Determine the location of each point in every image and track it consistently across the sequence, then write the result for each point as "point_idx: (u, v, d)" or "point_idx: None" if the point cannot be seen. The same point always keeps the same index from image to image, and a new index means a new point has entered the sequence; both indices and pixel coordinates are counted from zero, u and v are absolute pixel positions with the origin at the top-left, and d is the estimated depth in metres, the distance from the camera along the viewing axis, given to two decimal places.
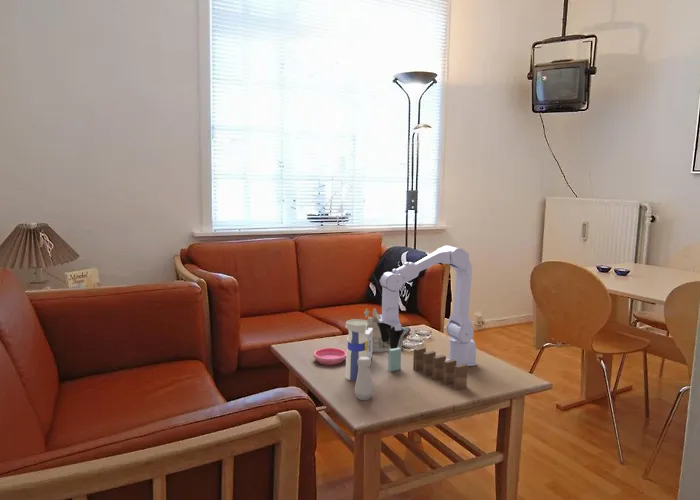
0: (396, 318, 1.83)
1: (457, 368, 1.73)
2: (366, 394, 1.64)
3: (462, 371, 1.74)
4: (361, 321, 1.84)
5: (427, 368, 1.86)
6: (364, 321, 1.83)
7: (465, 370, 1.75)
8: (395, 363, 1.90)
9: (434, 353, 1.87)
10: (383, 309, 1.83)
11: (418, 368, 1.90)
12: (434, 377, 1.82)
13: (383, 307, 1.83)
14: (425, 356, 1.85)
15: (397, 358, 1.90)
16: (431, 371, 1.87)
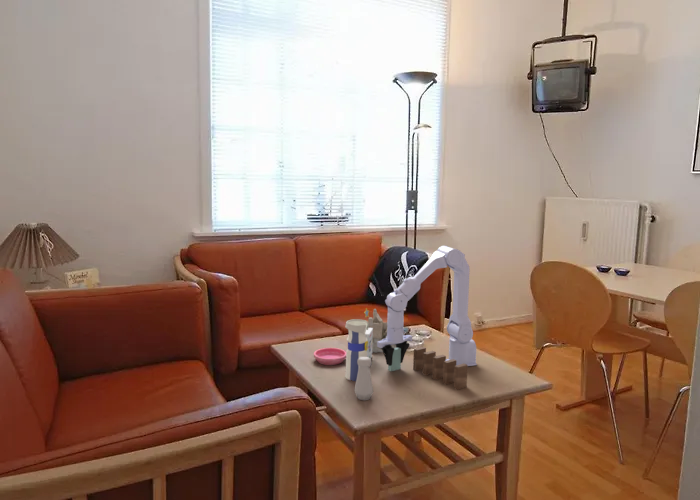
0: (391, 338, 1.86)
1: (457, 368, 1.73)
2: (366, 394, 1.64)
3: (462, 371, 1.74)
4: (361, 321, 1.84)
5: (427, 368, 1.86)
6: (364, 321, 1.83)
7: (465, 370, 1.75)
8: (395, 363, 1.90)
9: (434, 353, 1.87)
10: None
11: (418, 368, 1.90)
12: (434, 377, 1.82)
13: None
14: (425, 356, 1.85)
15: (397, 358, 1.90)
16: (431, 371, 1.87)
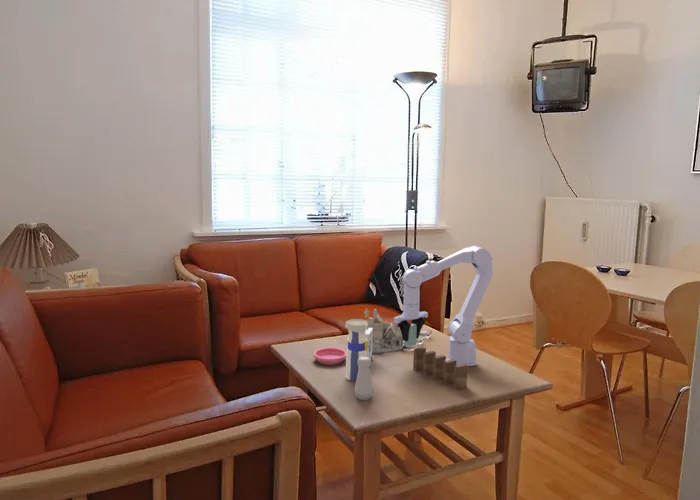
0: (408, 314, 1.90)
1: (457, 368, 1.73)
2: (366, 394, 1.64)
3: (462, 371, 1.74)
4: (361, 321, 1.84)
5: (427, 368, 1.86)
6: (364, 321, 1.83)
7: (465, 370, 1.75)
8: (411, 339, 1.93)
9: (434, 353, 1.87)
10: None
11: (418, 368, 1.90)
12: (434, 377, 1.82)
13: None
14: (425, 356, 1.85)
15: (413, 334, 1.94)
16: (431, 371, 1.87)
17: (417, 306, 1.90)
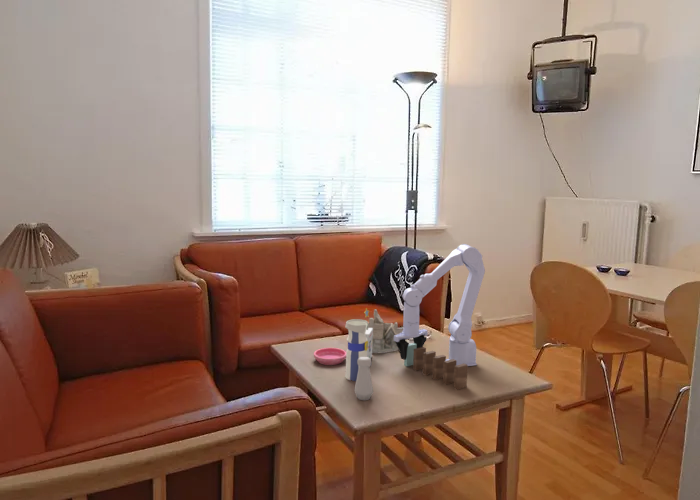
0: (407, 332, 1.91)
1: (457, 368, 1.73)
2: (366, 394, 1.64)
3: (462, 371, 1.74)
4: (361, 321, 1.84)
5: (427, 368, 1.86)
6: (364, 321, 1.83)
7: (465, 370, 1.75)
8: (411, 358, 1.95)
9: (434, 353, 1.87)
10: None
11: (418, 368, 1.90)
12: (434, 377, 1.82)
13: None
14: (425, 356, 1.85)
15: (413, 353, 1.95)
16: (431, 371, 1.87)
17: (417, 324, 1.91)
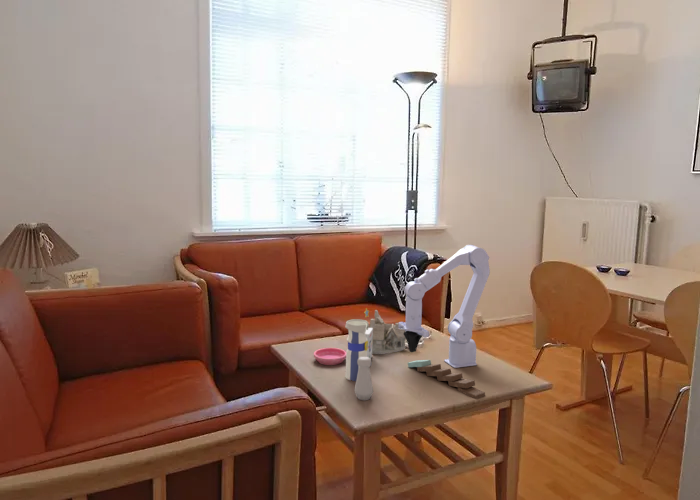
0: (420, 325, 1.91)
1: None
2: (366, 394, 1.64)
3: None
4: (361, 321, 1.84)
5: (433, 375, 1.84)
6: (364, 321, 1.83)
7: None
8: None
9: (449, 373, 1.81)
10: (408, 318, 1.90)
11: None
12: (438, 379, 1.80)
13: (408, 316, 1.90)
14: (439, 374, 1.80)
15: None
16: None
17: None
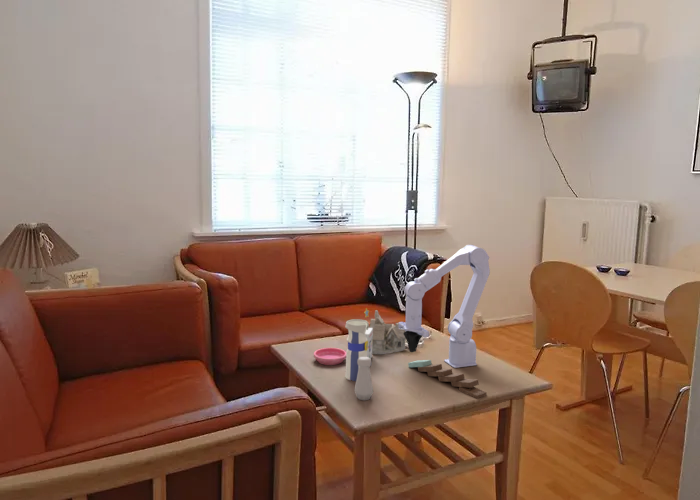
0: (420, 325, 1.91)
1: None
2: (366, 394, 1.64)
3: None
4: (361, 321, 1.84)
5: (434, 375, 1.83)
6: (364, 321, 1.83)
7: None
8: None
9: None
10: (408, 318, 1.90)
11: None
12: (440, 379, 1.80)
13: (408, 316, 1.90)
14: (440, 375, 1.80)
15: None
16: None
17: None
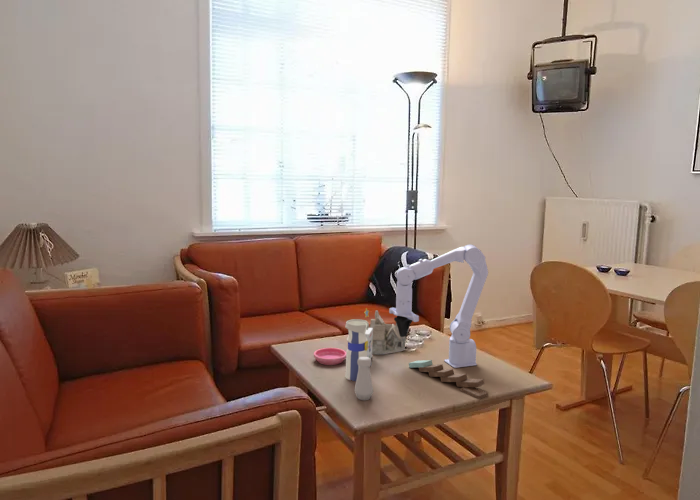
0: (411, 310, 1.94)
1: None
2: (366, 394, 1.64)
3: None
4: (361, 321, 1.84)
5: None
6: (364, 321, 1.83)
7: None
8: None
9: None
10: (399, 303, 1.93)
11: None
12: (442, 380, 1.79)
13: (399, 301, 1.93)
14: (442, 375, 1.79)
15: None
16: None
17: None
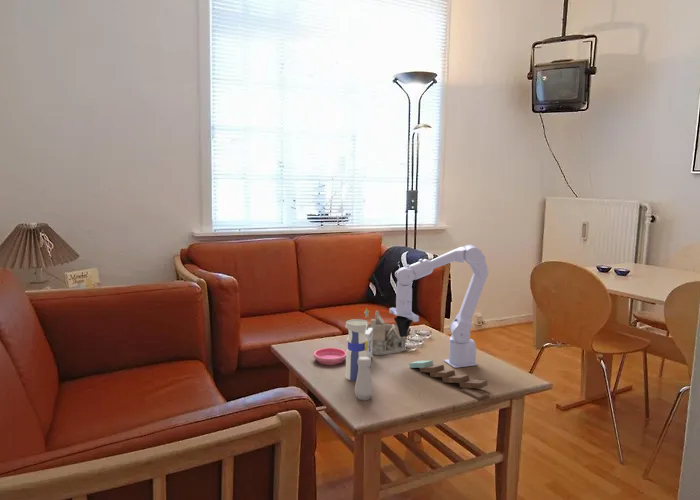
0: (411, 310, 1.94)
1: None
2: (366, 394, 1.64)
3: None
4: (361, 321, 1.84)
5: None
6: (364, 321, 1.83)
7: None
8: None
9: (453, 374, 1.81)
10: (399, 303, 1.93)
11: (423, 371, 1.89)
12: (444, 380, 1.79)
13: (399, 301, 1.93)
14: (443, 376, 1.79)
15: None
16: None
17: None
